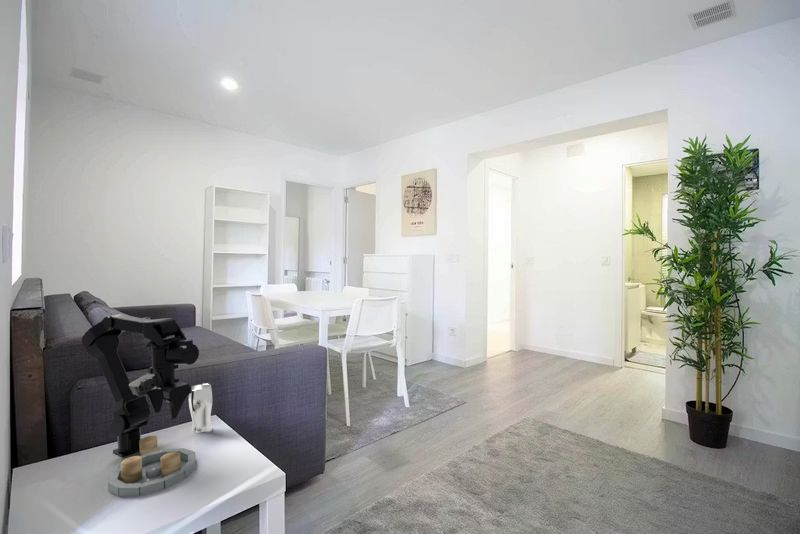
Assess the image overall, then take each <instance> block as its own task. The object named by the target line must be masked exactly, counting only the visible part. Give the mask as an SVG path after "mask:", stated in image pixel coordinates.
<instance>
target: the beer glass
mask: <svg viewBox="0 0 800 534" xmlns="http://www.w3.org/2000/svg"><path fill="white" fill-rule="evenodd" d="M191 386H192V393H190V394H189V396H188V407H189V412H190V416H191V420H192V421H191V422H192V428H191V433H195V434H196V433H204V432H206V433H208V434H209V433H210V432H212V431H213V426H212V422H211V415H212V407H213V391H212V385H211V384H210V383H202V384H195V385H191Z"/></svg>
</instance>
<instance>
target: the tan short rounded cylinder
mask: <svg viewBox="0 0 800 534" xmlns="http://www.w3.org/2000/svg"><path fill="white" fill-rule="evenodd" d="M180 468H181V461H180V453H179V452H171V453H167V454H165V455H163V456H162V457H161V478H163V477H165V476H167V475H169V474H172V473H174V472H176V471H178V470H179V469H180Z"/></svg>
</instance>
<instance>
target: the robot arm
mask: <svg viewBox="0 0 800 534" xmlns="http://www.w3.org/2000/svg"><path fill="white" fill-rule="evenodd" d="M124 331H125V332H130V333H136V334H140V335H142V337H143V339H147V340H149V342H148V343H146V345H145V347H146V348H151V366H149V367H148V369H147V373H146V374H144V375H141V376H140V377H138V378H137V379H135V380H133V381H131V382H130V379H129V376H128V375H127V373H126V369H125V367H124V364H123V361H122V360H121V358H120V356H119V353H118V349H119V346H120V338H119V337H120V336H121V335H122V334H123V333H124ZM81 344H82V345H83V347H84V348H85V350H86V351H87V352H86V353H88V354H89V355H91V356H92V357H94V358H95V359H97V360H98V363H99V365H100V368H101V369H102V372H103V374H104V377H105V380H106V382H107V384H108V387H109V389H110V391H111V393H112V397H113V399H114V401H115V404H114V409H113V412H112V414H113V418H114V420H112V422H111V423H110V425H109V426H108V427H107V431H108V432H107V433H108V434H109V436H113V437H117V448H115V449H113V450H112V453H114V454H116V455H118V456H120V457H122V458H123V457H127V456H128V455H131V454H134V453H136V452H140V445H139V440H140V439H142V438H141V437H142V436H141V428H143V427H145V426H148V422H149V419H150V415H151V409H150V408H151V406H150V404H149V403H148V401H147V398H146V396H145V395H147V396H148V398H149V400H150V403H151V404H152V408H153V410H154V412H155V414H157V413H160V412H161V409H162V405H163V401H166V402H167V403H168V407H169V413H170V418H171V420H175V419H177V417H178V415H179V413H180V411H181V409H182V407H183V405H184V403H185V401H186V400H187V397H189V394H190V393H192V386H193V385H192V384H189V383H187V382H182V381H180V379H179V378H178V377H176V375H177V374H176V369H179V365H189V366H190V365H193V364H195V362H197V360H198V359H199V356H200V349H199V348H198V346H197V345H196V344H194V342H193V339H187V337H186V336H185V333H184V332H183V331H182V330H181V328H180V326H179V325H178V323H177V322H176V319H175V318H172V317H169V318H167V317H164V318H155V319H148V318H142V317H137V316H131V315H126V314H123V313H118V314H110V315H107V316H105V317H103V318H102V320H101V321H100V322H98V323H96V324H94V325H93V326H91V327H90V328H88V330H86V331H85V332H84V334H83V335H82V337H81Z"/></svg>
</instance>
